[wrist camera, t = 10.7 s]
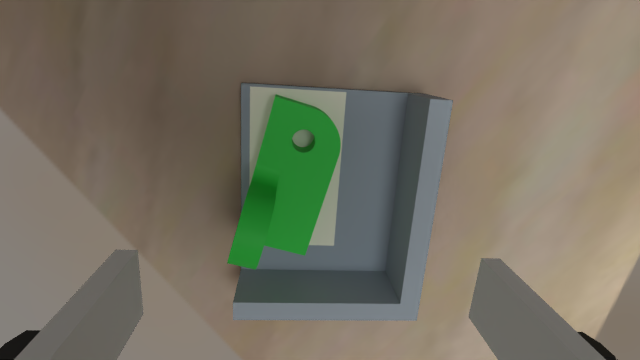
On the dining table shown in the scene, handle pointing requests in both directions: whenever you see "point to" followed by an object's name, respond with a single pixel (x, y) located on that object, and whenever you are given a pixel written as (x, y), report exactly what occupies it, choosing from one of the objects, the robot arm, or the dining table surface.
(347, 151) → the corner arena
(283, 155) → the mechanical part
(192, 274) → the dining table surface
